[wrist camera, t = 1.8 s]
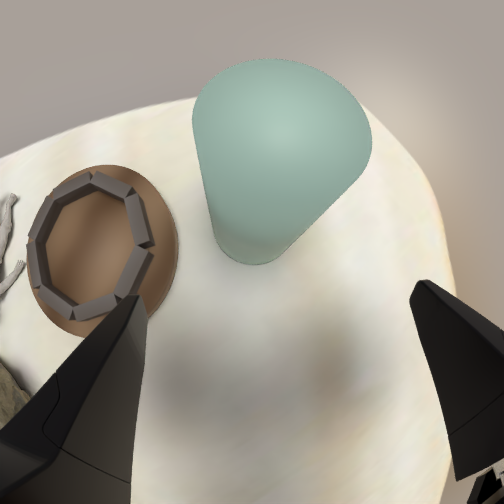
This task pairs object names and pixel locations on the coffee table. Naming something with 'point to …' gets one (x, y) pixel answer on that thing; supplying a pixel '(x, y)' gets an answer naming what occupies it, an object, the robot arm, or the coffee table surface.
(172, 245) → the segmented ring tray
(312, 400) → the coffee table surface
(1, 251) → the soldier figure
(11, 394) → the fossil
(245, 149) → the column
